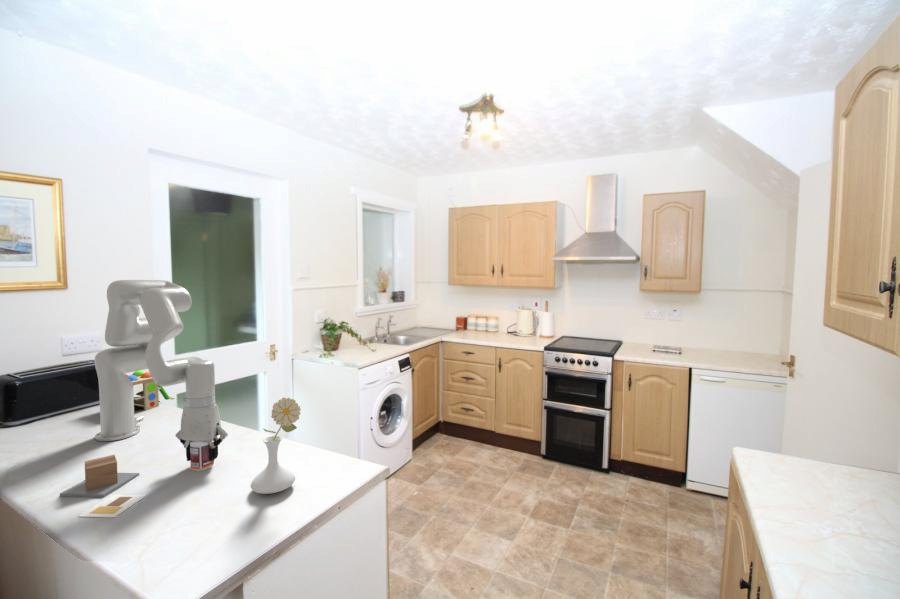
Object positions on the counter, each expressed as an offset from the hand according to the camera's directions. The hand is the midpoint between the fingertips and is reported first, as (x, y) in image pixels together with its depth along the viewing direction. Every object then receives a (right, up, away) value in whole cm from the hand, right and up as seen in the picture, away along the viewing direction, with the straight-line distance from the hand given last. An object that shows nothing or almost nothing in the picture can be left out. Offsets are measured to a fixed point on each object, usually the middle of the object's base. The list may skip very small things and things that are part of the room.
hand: (202, 458), depth 127 cm
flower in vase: (+28, -4, -12) cm, 30 cm away
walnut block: (-21, -2, -11) cm, 24 cm away
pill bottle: (0, -3, 0) cm, 3 cm away
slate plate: (-21, -3, -11) cm, 24 cm away
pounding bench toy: (-56, 0, +53) cm, 77 cm away
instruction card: (-10, -4, -22) cm, 24 cm away
